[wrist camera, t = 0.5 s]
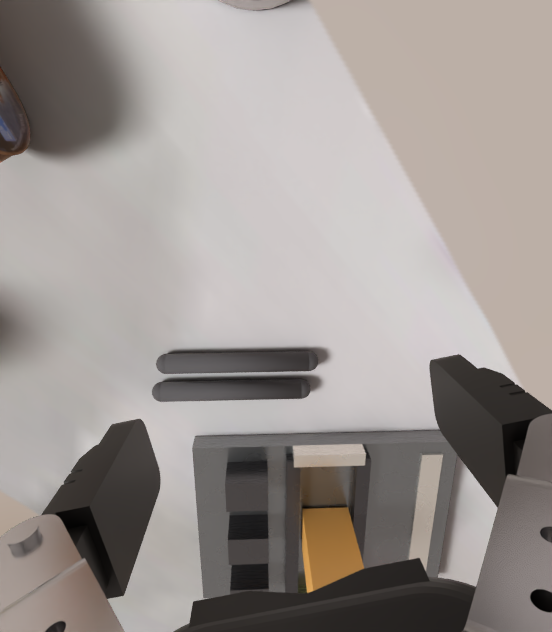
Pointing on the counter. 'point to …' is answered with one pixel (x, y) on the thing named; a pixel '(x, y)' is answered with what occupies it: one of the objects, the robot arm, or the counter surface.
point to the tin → (12, 121)
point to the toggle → (328, 546)
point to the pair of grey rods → (230, 365)
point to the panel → (316, 501)
